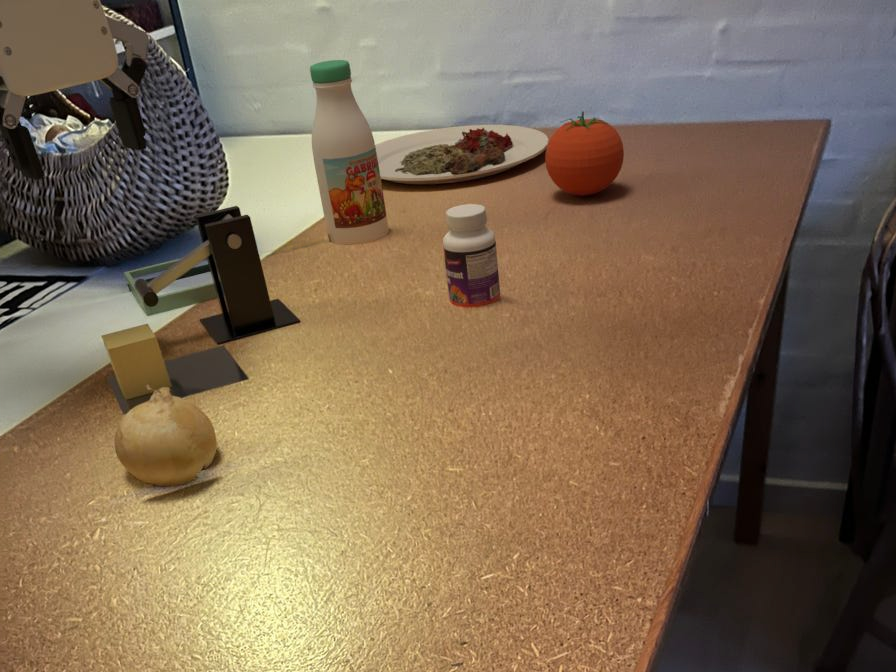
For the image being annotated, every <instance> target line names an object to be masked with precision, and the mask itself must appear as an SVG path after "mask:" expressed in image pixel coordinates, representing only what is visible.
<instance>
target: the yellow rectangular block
mask: <svg viewBox="0 0 896 672" xmlns="http://www.w3.org/2000/svg"><path fill="white" fill-rule="evenodd" d="M100 336H101V340H102V342H103V345H104V347H105V350H106V354H107V356H108V360H109V362H110V364H111V367H112V370H113V373H114V375H115V376H116V378H117V381H118V384H119V386H120V388H121V390H122V392H123V395H124V397H125V399H126V400H128V399H132V398H135V397H139V396H142V395H146V394H149V393H153V391H151V392H149V390H148V389H147V388H146V387H147V386H146V385H149V387H151V388H152V389H154V390H159V389H160V388H162V387H165V388H171V387H172V385H171V382H170V379H169V375H168V372H167V369H166V366H165V363H164V361H165V360H164V356H163V354H162V350H161V348H160V345H159V341H158V338H157V336H156V334H155V333H154V331H153V329H152V328H151V327H150V324H149V323H145V324H144V323H143V324H140V325H137V326H133V327H129V328H124V329H122V330H117V331H113V332H110V333H106V334H103V335H102V334H101V335H100Z"/></svg>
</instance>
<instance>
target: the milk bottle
mask: <svg viewBox="0 0 896 672" xmlns="http://www.w3.org/2000/svg"><path fill="white" fill-rule="evenodd" d="M309 73H310V78H311V82H312V87H313V88H314V89H315V93H316V105H315V112H314V119H313V124H312V128H311V150H312V157H313V164H314V169H315V174H316V180H317V186H318V190H319V197H320V203H321V207H322V212H323V218H324V222H325V227H326V231H327V237H328V242H330V243H332V244H336V245H340V246H341V245H342V246H352V245H353V246H354V245H361V244H366V243H370V242H374V241H377V240H380V239H382V238H384V237H386V236H387V235H388V234H389V223H388V216H387V208H386V203H385V197H384V191H383V190H384V189H383V185H382V179H381V177H380V171H379V165H378V158H377V153H376V148H375V145H376V142H375V139H374V134H373V132H372V129H371V127H370V124H369V121H368V120H367V119H366V117H365V115H364V113H363V112H362V110H361V108H360V106H359V104H358V102H357V100H356V98H355V96H354V92H353V89H352V82H353V79H352V71H351V64H350V62H349V61H348V60H345V59H333V60H332V59H331V60H324V61H320V62H317V63H313V64H312V65H311V66H310V67H309Z"/></svg>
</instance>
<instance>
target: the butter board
mask: <svg viewBox="0 0 896 672" xmlns="http://www.w3.org/2000/svg"><path fill="white" fill-rule="evenodd" d="M164 363H165V366H166V369H167V372H168V375H169V379H170V382H171V385H172V387H171V388H170V393H171V396H176V397H180V398H183V399H185V398H187V397H192V396H195V395H198V394H203V393H205V392H208V391H213V390H216V389H221V388H223V387H226V386H230V385H233V384H237V383H240V382H243V381H248V380H250V378H249V376H248V375H247V373H246V372H245V371H244V370H243V368H241V366H240V365H239V364H238V362H237V361H236V360H235V358H234V356H232V354H231V353H230V352H229V351H228V349H227V348H226V347H225V345H223V344H221V345H218V346H216V347H212V348H208V349H204V350H200V351H197V352H194V353H191V354H187V355H183V356H178V357H175V358H171V359H168V360H164ZM105 378H106V381H107V382H108V384H109V387H110V389H111V392H112V394H113V395H114V398H115V400H116V402H117V404H118V406H119V409H120V410H121V413H122V415H123V416H125V415H126V414H127V413H128V412H129V411H130V410H131V409H133V408H134V407H136V406H138V405H140V404H142V403H145V402H147V401H149V400H150V398H151V396H152V395H153V393H149V394H146V395H142V396H139V397H135V398H132V399H128V400H126V399H125V397H124V395H123V392H122V390H121V388H120V386H119V384H118V381H117V378H116V376H115V374H113V375H109V376H106V377H105Z"/></svg>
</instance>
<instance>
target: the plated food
mask: <svg viewBox="0 0 896 672" xmlns="http://www.w3.org/2000/svg"><path fill="white" fill-rule="evenodd" d="M548 142H549V138H548V136H547V134H545V133H544V132H543V131H540V130H538V129H534V128H531V127H526V126H521V125H509V124H475V125H463V126H462V125H460V126H452V127H450V126H449V127H443V128H435V129H429V130H425V131H419V132H418V131H417V132H414V133H410V134H406V135H401V136H397V137H394V138H391V139H387V140H385V141H382V142H379V143H377V144H376V143H375V148H376V153H377V158H378V165H379V171H380V177H381V180H385V181H387V182H392V183H398V184H406V185H438V184H451V183H457V182H466V181H470V180H471V181H473V180H476V179H477V180H478V179H480V178H481V179H482V178H485V177H489V176H493V175H497V174H499V173H502V172H506V171H509V170H510V169H512V168H515V167H517V166H518V165H520V164H522V163H525V162H527V161H530V160H531V159H534V158H536V157H537V156H539V155H540V154H542V153H544V151H546V149H547V145H548Z"/></svg>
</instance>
